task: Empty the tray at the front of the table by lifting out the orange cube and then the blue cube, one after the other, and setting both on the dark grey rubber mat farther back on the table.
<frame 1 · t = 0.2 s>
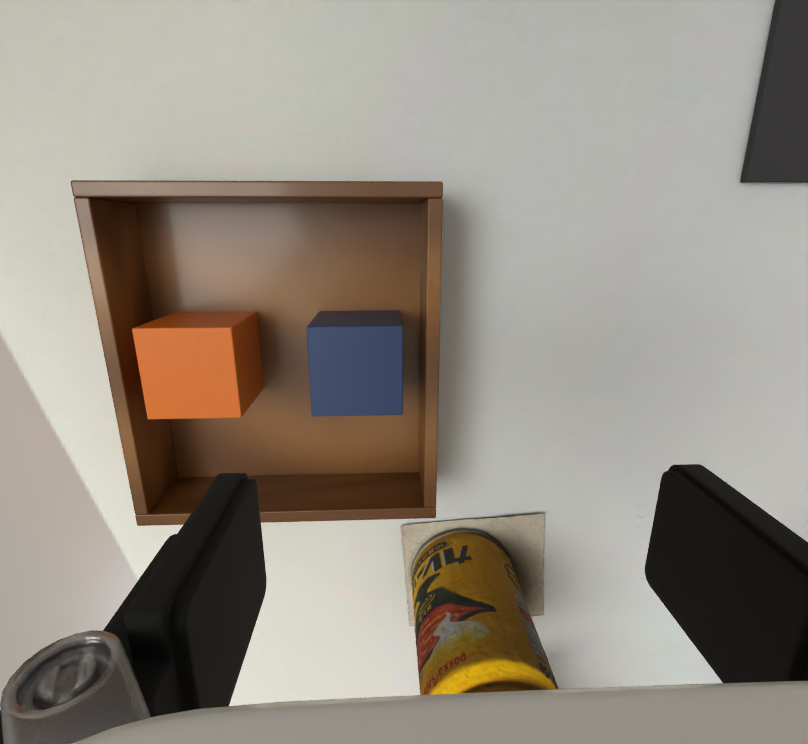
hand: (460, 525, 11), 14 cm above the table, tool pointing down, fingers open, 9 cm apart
tray: (292, 348, 24), on the table
orange cube: (220, 351, 23), resting on tray
blue cube: (360, 349, 23), resting on tray
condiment: (473, 566, 28), on the table
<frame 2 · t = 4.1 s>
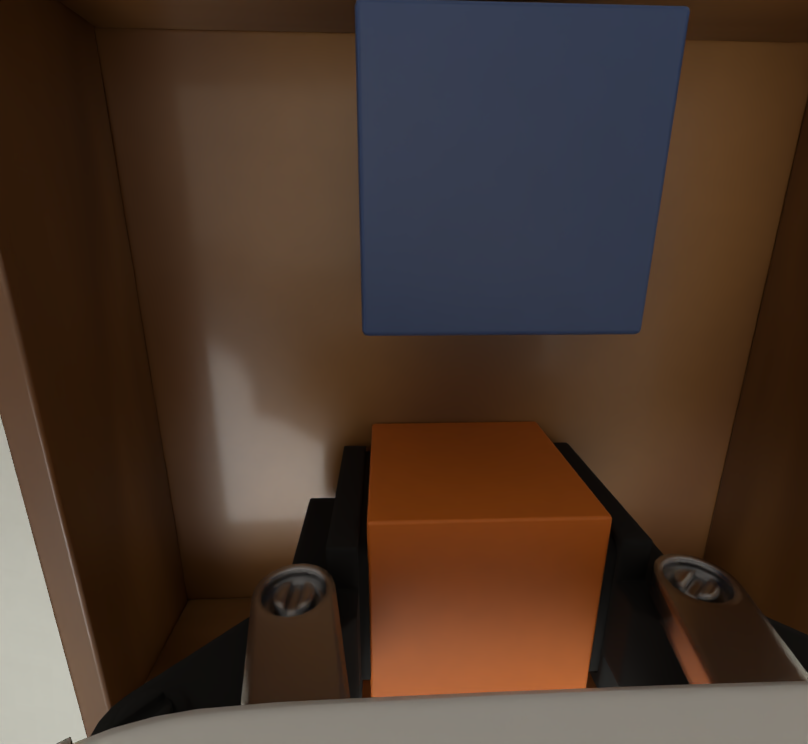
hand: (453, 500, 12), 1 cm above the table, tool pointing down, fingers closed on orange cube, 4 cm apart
tray: (453, 356, 11), on the table
orange cube: (452, 494, 12), resting on tray, touching gripper
blue cube: (463, 202, 10), resting on tray
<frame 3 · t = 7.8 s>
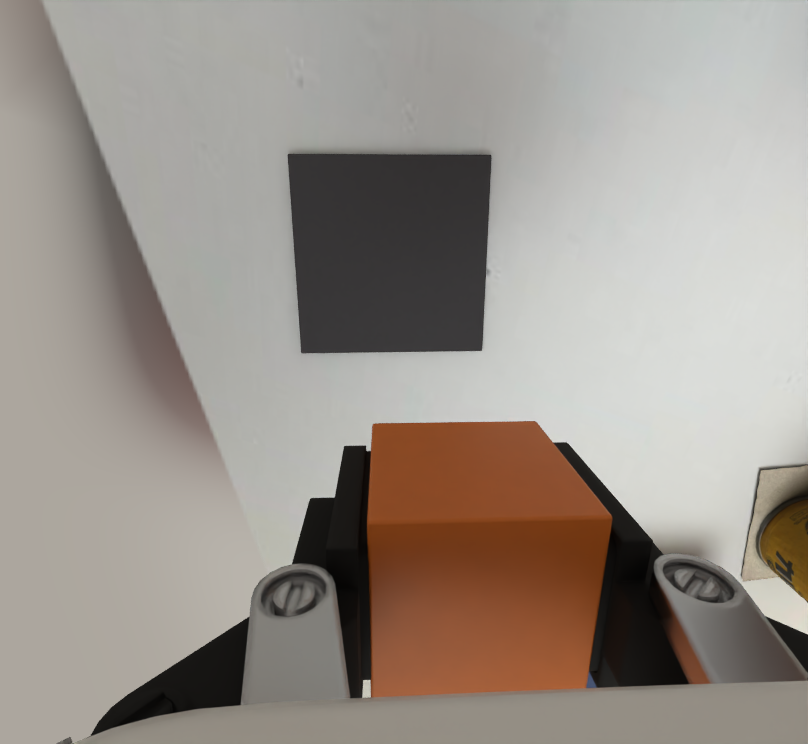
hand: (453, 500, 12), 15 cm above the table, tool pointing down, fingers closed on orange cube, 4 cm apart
orange cube: (452, 493, 12), point 15 cm above the table, touching gripper
mat: (391, 258, 25), on the table
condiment: (800, 519, 31), on the table
when the fingers open (1 cm above the table, at t = 11.5 s): orange cube stays where it is, resting on mat.
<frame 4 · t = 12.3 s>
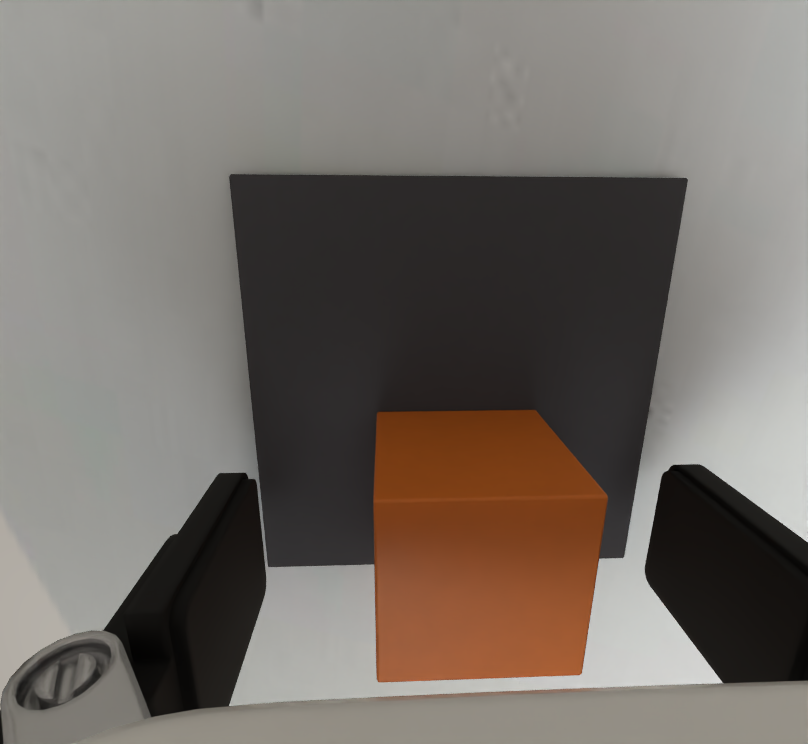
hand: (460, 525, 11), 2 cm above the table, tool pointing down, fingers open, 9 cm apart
orange cube: (454, 480, 12), resting on mat
mat: (452, 389, 12), on the table
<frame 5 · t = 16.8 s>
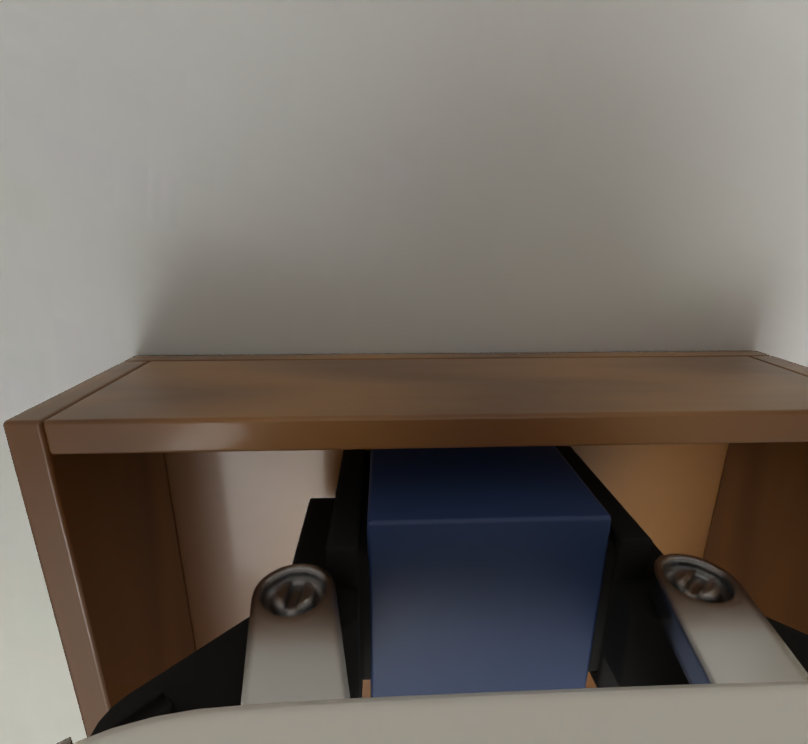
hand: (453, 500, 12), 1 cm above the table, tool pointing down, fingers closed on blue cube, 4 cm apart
tray: (445, 591, 13), on the table
blue cube: (452, 494, 12), resting on tray, touching gripper
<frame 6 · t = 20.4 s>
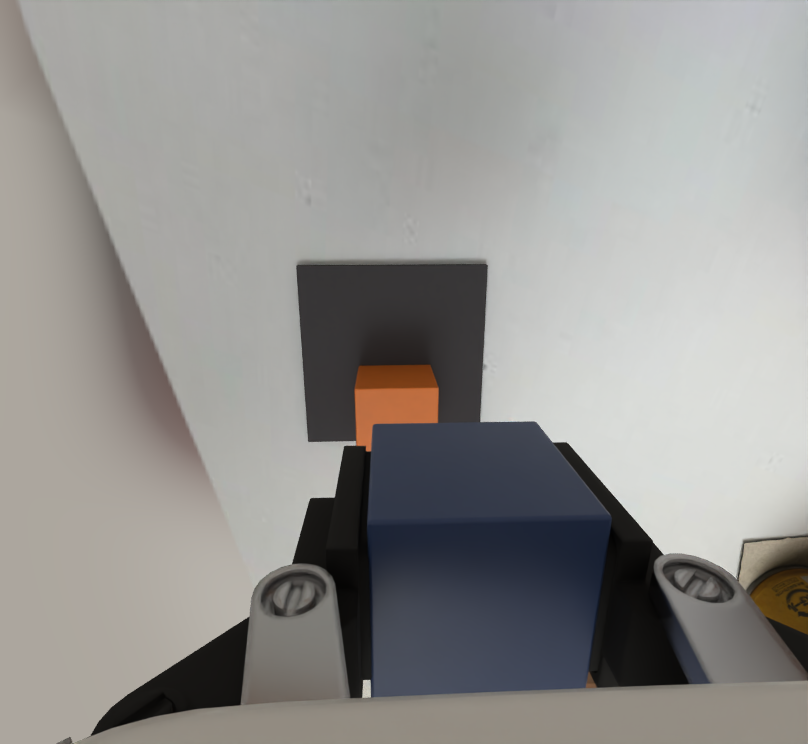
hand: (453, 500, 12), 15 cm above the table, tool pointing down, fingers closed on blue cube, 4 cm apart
orange cube: (394, 398, 26), resting on mat
mat: (393, 355, 26), on the table
blue cube: (452, 493, 12), point 15 cm above the table, touching gripper
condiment: (783, 586, 32), on the table
when the fingers open (1 cm above the table, at t = 24.1 s): blue cube stays where it is, resting on mat.
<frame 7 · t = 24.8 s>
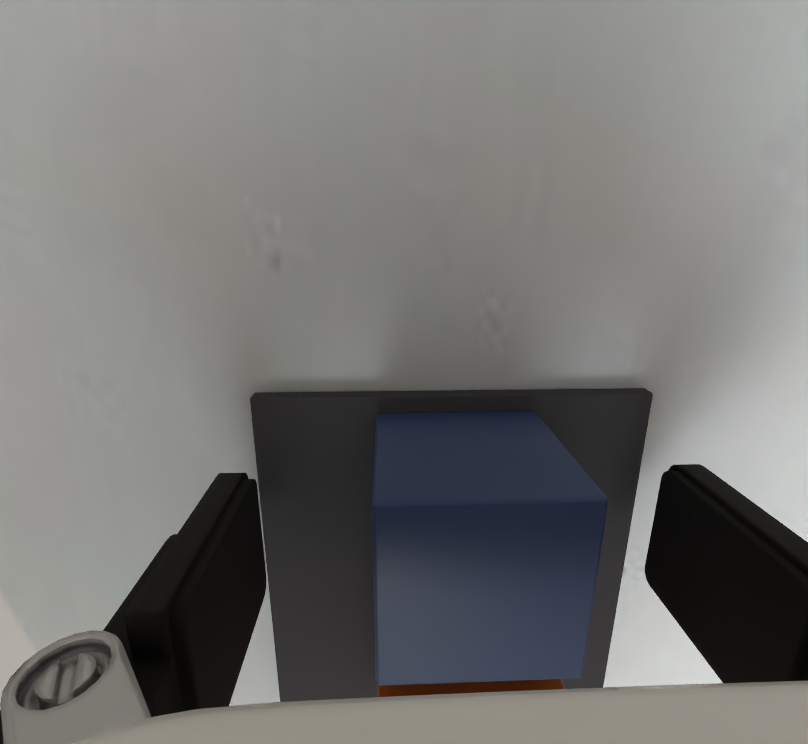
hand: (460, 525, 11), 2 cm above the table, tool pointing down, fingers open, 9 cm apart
orange cube: (448, 633, 14), resting on mat
mat: (446, 555, 13), on the table
blue cube: (453, 482, 12), resting on mat
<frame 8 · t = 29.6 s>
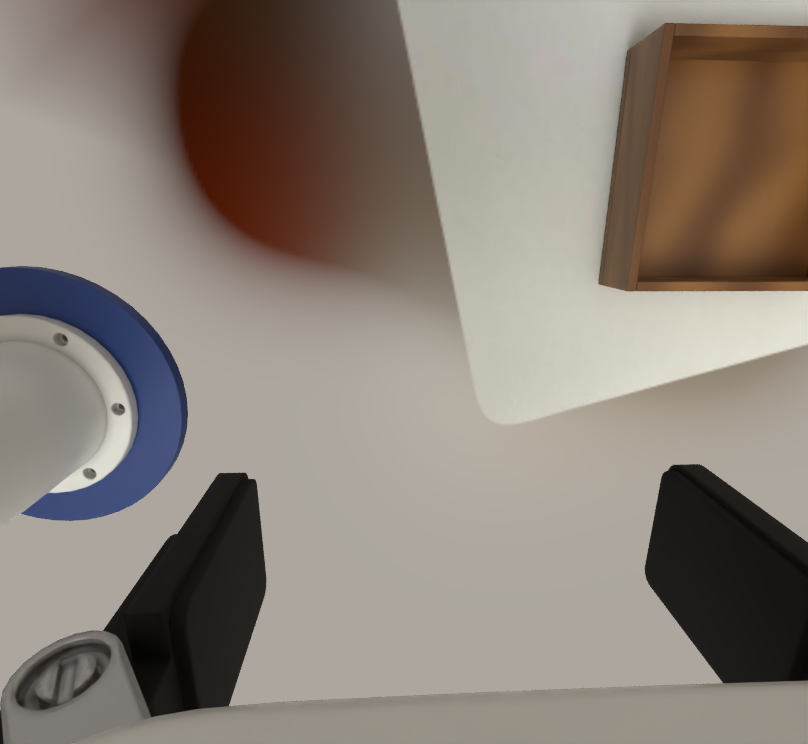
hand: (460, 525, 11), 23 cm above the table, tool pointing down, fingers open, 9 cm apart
tray: (723, 176, 31), on the table
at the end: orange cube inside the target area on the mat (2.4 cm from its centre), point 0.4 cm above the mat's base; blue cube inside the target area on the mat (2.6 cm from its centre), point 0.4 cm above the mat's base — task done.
